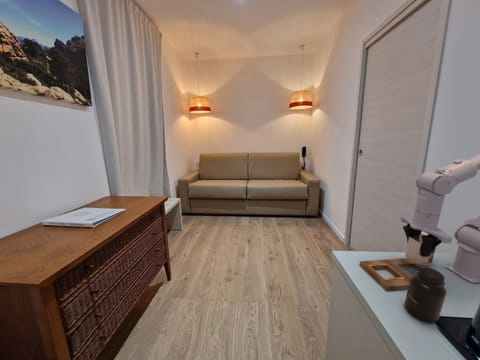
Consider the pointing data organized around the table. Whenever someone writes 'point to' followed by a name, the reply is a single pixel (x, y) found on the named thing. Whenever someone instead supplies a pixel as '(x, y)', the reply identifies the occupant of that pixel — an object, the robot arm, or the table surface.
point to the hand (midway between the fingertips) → (418, 251)
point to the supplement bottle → (426, 295)
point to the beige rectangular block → (415, 250)
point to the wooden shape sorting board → (394, 268)
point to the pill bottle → (430, 254)
